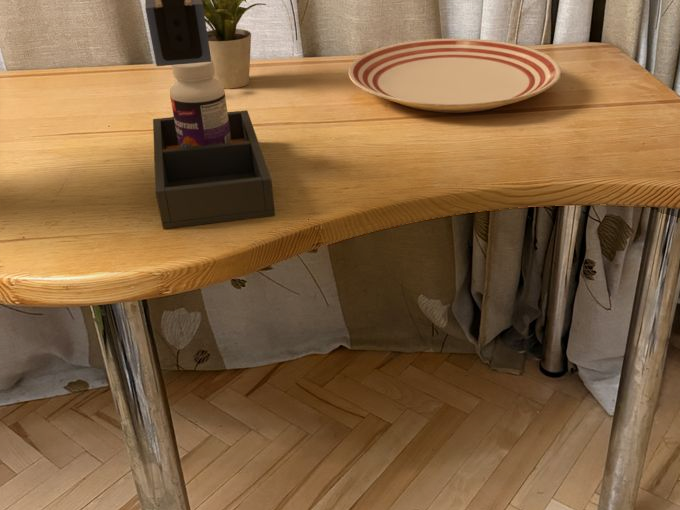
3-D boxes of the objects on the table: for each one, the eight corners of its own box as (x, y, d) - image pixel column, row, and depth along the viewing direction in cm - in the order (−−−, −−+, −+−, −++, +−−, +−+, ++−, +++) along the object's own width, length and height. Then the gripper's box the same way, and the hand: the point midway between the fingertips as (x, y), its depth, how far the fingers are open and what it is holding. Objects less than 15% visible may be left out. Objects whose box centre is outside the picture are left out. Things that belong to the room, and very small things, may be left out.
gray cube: (156, 66, 61) (145, 8, 59) (155, 52, 65) (144, -4, 62) (211, 61, 62) (202, 4, 59) (207, 48, 66) (199, -7, 63)
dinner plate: (509, 141, 83) (512, 112, 81) (308, 103, 94) (306, 77, 92) (585, 77, 102) (589, 52, 100) (411, 52, 113) (411, 29, 111)
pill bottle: (170, 156, 78) (152, 61, 72) (212, 142, 81) (198, 50, 75) (201, 170, 75) (185, 71, 69) (243, 155, 78) (231, 59, 72)
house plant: (208, 62, 110) (190, -63, 100) (296, 69, 106) (286, -60, 97) (159, 91, 99) (133, -46, 89) (255, 99, 95) (239, -42, 86)
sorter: (163, 229, 66) (155, 192, 64) (159, 151, 82) (152, 118, 79) (275, 215, 68) (271, 179, 66) (251, 141, 84) (247, 110, 81)
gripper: (195, -225, 46) (235, 74, 57) (184, -217, 60) (218, 24, 70) (70, -223, 45) (135, 83, 56) (86, -216, 58) (136, 30, 69)
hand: (181, 48), depth 63 cm, fingers closed on gray cube, 4 cm apart
